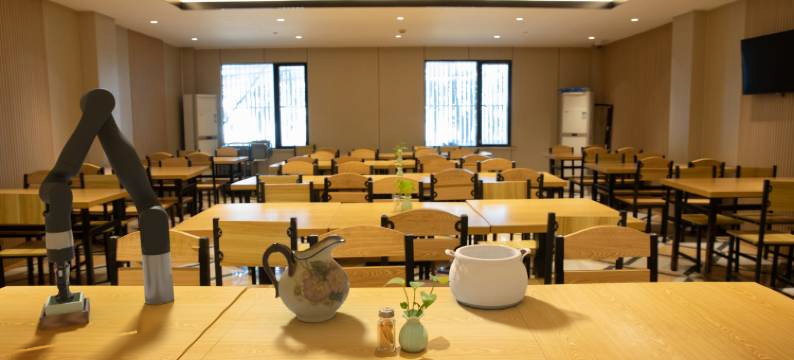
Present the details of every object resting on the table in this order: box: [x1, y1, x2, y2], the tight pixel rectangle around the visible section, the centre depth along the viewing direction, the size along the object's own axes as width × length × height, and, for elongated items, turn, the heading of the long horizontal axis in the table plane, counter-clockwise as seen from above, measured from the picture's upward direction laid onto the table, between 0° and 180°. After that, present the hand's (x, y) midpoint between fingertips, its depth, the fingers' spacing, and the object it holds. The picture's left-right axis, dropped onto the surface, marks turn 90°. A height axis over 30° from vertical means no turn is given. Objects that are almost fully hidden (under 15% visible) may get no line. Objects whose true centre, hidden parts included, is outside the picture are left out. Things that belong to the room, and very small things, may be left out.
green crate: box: [45, 290, 85, 316], centre depth 191 cm, size 10×12×6 cm
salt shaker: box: [54, 281, 75, 304], centre depth 190 cm, size 6×6×12 cm
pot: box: [444, 243, 532, 310], centre depth 205 cm, size 29×26×17 cm
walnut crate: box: [39, 296, 91, 331], centre depth 191 cm, size 13×15×4 cm
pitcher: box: [261, 234, 351, 323], centre depth 190 cm, size 22×24×25 cm
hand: (64, 296), depth 191 cm, fingers closed on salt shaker, 6 cm apart
